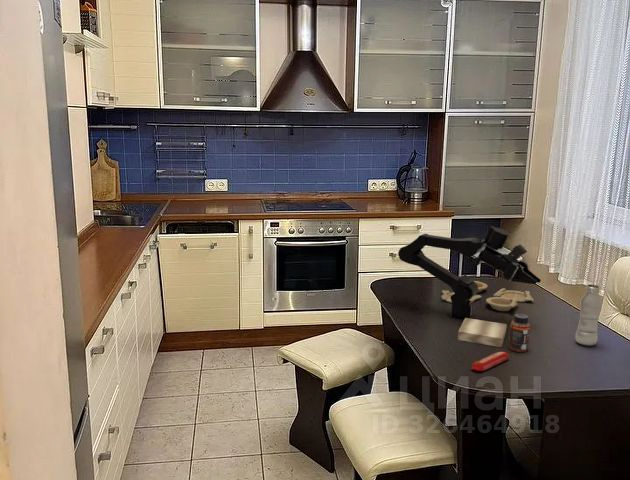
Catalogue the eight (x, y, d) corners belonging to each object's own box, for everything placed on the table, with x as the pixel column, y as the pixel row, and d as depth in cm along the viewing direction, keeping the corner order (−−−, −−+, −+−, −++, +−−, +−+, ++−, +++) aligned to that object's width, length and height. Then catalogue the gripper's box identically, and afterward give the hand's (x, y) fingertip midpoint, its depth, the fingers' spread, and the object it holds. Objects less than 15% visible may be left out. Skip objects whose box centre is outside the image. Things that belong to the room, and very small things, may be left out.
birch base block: (457, 339, 190) (458, 331, 189) (464, 325, 202) (465, 317, 202) (501, 347, 184) (502, 338, 184) (505, 332, 197) (506, 324, 196)
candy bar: (499, 356, 178) (500, 347, 177) (509, 360, 175) (510, 351, 175) (469, 370, 168) (469, 361, 167) (479, 375, 165) (480, 365, 164)
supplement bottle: (529, 353, 180) (532, 319, 177) (509, 351, 181) (512, 318, 178) (526, 346, 186) (529, 313, 183) (507, 344, 187) (510, 311, 184)
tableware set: (538, 297, 236) (539, 288, 235) (523, 318, 212) (524, 308, 211) (455, 283, 254) (456, 274, 253) (432, 301, 229) (433, 291, 228)
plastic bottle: (570, 340, 191) (577, 283, 186) (589, 340, 191) (597, 283, 187) (580, 348, 185) (588, 289, 180) (600, 347, 185) (609, 289, 181)
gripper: (502, 239, 190) (546, 262, 183) (512, 239, 206) (553, 260, 200) (486, 268, 193) (529, 292, 186) (497, 266, 209) (537, 288, 202)
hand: (538, 282), depth 193 cm, fingers open, 9 cm apart
